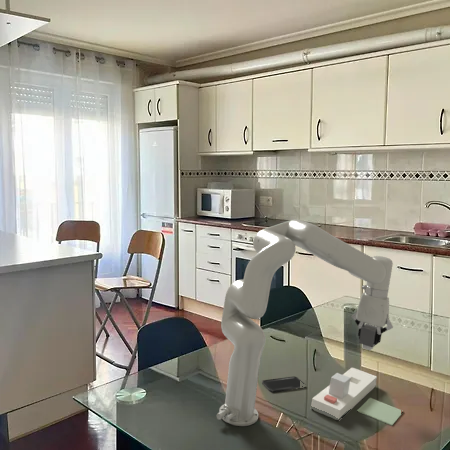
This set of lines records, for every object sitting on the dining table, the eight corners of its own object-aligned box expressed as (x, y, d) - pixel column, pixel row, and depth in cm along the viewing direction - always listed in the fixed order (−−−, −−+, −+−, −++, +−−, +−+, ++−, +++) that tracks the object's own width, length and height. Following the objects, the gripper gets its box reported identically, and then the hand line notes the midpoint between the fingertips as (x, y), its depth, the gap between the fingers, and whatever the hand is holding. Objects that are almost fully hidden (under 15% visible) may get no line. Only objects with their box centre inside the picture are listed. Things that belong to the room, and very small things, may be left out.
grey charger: (341, 403, 170) (344, 382, 169) (327, 398, 173) (330, 377, 172) (347, 398, 174) (350, 377, 173) (334, 393, 177) (337, 372, 176)
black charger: (371, 352, 175) (375, 331, 174) (358, 347, 178) (361, 326, 177) (376, 348, 179) (380, 327, 178) (363, 343, 182) (366, 323, 181)
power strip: (338, 421, 163) (340, 407, 162) (310, 409, 169) (312, 395, 168) (375, 386, 191) (377, 374, 190) (350, 376, 196) (352, 365, 195)
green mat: (391, 425, 164) (392, 424, 164) (357, 411, 171) (357, 410, 171) (403, 412, 174) (403, 410, 174) (369, 398, 181) (370, 397, 181)
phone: (261, 380, 184) (295, 376, 191) (260, 383, 185) (295, 378, 191) (271, 391, 177) (307, 386, 184) (271, 394, 178) (306, 388, 184)
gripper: (349, 287, 177) (341, 336, 180) (397, 300, 167) (389, 352, 170) (357, 284, 183) (349, 331, 186) (404, 296, 173) (395, 345, 176)
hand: (368, 340), depth 178 cm, fingers closed on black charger, 5 cm apart
